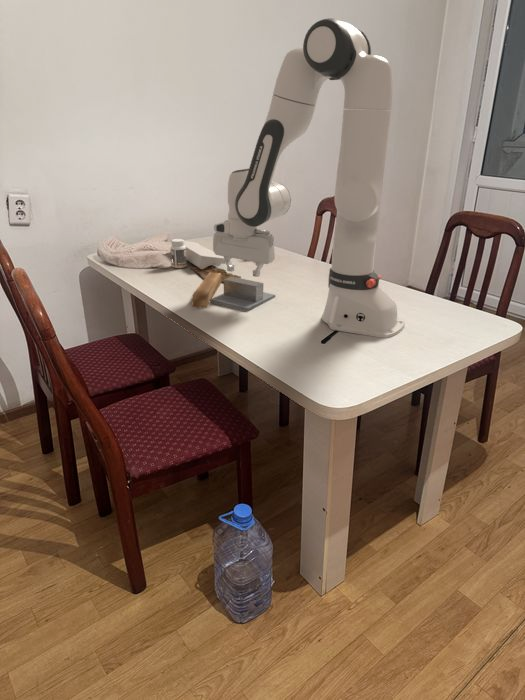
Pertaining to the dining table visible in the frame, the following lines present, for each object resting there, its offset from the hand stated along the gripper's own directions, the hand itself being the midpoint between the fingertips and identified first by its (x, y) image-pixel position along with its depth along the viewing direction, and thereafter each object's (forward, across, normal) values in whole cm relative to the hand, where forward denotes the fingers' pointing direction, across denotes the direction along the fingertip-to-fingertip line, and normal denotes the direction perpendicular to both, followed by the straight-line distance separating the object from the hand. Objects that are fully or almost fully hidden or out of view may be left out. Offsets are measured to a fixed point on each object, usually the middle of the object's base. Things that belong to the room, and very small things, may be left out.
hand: (243, 273), depth 153 cm
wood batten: (+9, +13, +2) cm, 16 cm away
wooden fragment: (+10, +23, -20) cm, 32 cm away
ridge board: (+9, 0, 0) cm, 9 cm away
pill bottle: (+9, +42, -18) cm, 47 cm away
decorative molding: (+8, +40, -34) cm, 53 cm away
